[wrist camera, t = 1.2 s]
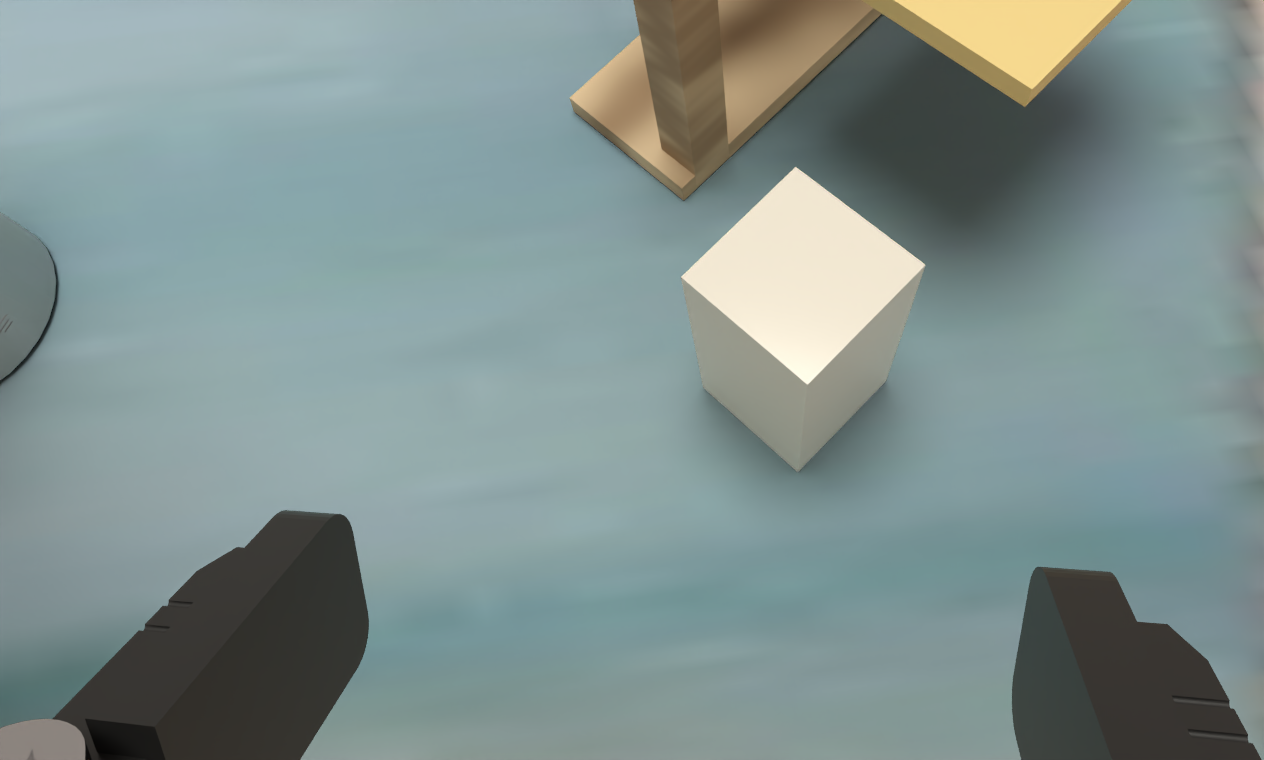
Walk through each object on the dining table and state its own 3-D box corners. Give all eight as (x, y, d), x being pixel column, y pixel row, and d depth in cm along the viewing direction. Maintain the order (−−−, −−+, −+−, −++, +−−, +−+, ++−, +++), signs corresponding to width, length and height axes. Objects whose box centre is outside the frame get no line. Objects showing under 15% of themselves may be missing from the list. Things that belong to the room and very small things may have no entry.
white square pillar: (703, 387, 37) (680, 277, 28) (789, 302, 38) (795, 166, 29) (797, 472, 36) (807, 384, 26) (886, 381, 37) (925, 265, 27)
